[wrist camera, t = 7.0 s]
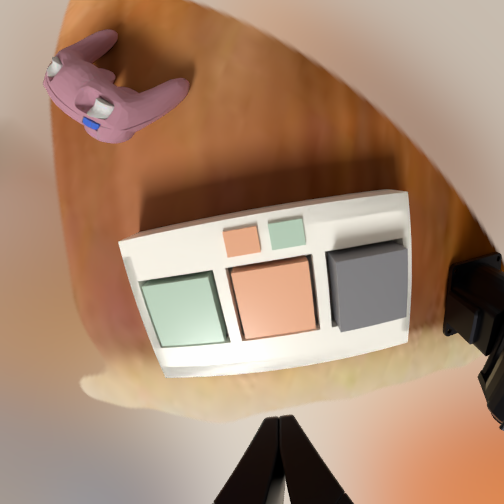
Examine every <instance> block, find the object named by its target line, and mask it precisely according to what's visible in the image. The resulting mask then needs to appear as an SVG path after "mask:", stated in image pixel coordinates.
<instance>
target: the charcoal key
mask: <svg viewBox="0 0 504 504" xmlns="http://www.w3.org/2000/svg"><path fill="white" fill-rule="evenodd" d="M327 253H328V262H329V272H330V283H331V294H332V307H333V316H334V319H335V321H336V323H337V325H338V328H339V330H340V332H346V331H350V330H355V329H360V328H364V327H368V326H373V325H377V324H381V323H385V322H389V321H393V320H397V319H401V318H404V317H406V315H407V295H408V249H407V248H405V247H403V246H402V245H400V244H398V243H396V242H394V241H393V240H391V241H385V242H380V243H374V244H369V245H363V246H357V247H351V248H346V249H340V250H334V251H328V252H327Z"/></svg>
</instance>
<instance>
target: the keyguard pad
mask: <svg viewBox="0 0 504 504" xmlns="http://www.w3.org/2000/svg"><path fill="white" fill-rule="evenodd" d="M391 240H393V241H394V242H396V243H398V244H400V245H402V246H403V247H405V248H407V249H408V295H407V315H406V317H404V318H401V319H397V320H393V321H389V322H385V323H381V324H377V325H373V326H368V327H364V328H360V329H355V330H350V331H346V332H340V330H339V328H338V325H337V323H336V321H335V319H334V316H333V307H332V294H331V283H330V272H329V262H328V253H327V252H328V251H334V250H340V249H346V248H351V247H357V246H363V245H369V244H374V243H380V242H385V241H391ZM118 243H119V246H120V250H121V254H122V258H123V261H124V265H125V268H126V272H127V275H128V278H129V281H130V285H131V288H132V291H133V294H134V297H135V300H136V303H137V306H138V309H139V312H140V315H141V318H142V320H143V323H144V326H145V328H146V331H147V334H148V336H149V339H150V342H151V344H152V347H153V349H154V352H155V354H156V356H157V359H158V361H159V364H160V366H161V368H162V371H163V373H164V375H165V377H166V378H184V377H208V376H223V375H235V374H246V373H256V372H264V371H272V370H280V369H287V368H294V367H300V366H306V365H312V364H318V363H323V362H328V361H333V360H338V359H343V358H348V357H352V356H357V355H361V354H365V353H369V352H373V351H377V350H381V349H385V348H389V347H392V346H396V345H400V344H403V343H407V341H408V332H409V320H410V305H411V279H412V252H411V226H410V211H409V200H408V192H405V191H398V190H391V189H383V190H375V191H367V192H359V193H352V194H345V195H338V196H331V197H324V198H317V199H310V200H304V201H298V202H291V203H285V204H279V205H273V206H267V207H262V208H256V209H250V210H245V211H239V212H234V213H228V214H223V215H218V216H213V217H208V218H203V219H198V220H193V221H188V222H183V223H178V224H173V225H169V226H164V227H159V228H155V229H150V230H146V231H141V232H138V233H136V234H134V235H131V236H129V237H127V238H125V239H123V240H121V241H119V242H118ZM301 255H305V256H306V258H307V260H308V264H309V271H310V279H311V288H312V297H313V306H314V315H315V325H316V328H315V329H309V330H303V331H297V332H291V333H284V334H278V335H271V336H264V337H256V338H248V339H246V338H245V334H244V329H243V325H242V321H241V316H240V312H239V308H238V303H237V299H236V294H235V290H234V285H233V281H232V276H231V272H232V269H233V267H234V266H241V265H247V264H253V263H259V262H265V261H271V260H277V259H283V258H289V257H295V256H301ZM209 270H213V273H214V277H215V281H216V286H217V290H218V294H219V298H220V302H221V306H222V310H223V314H224V318H225V322H226V326H227V329H228V330H227V334H226V338H225V341H223V342H213V343H201V344H189V345H174V346H162V344H161V341H160V338H159V336H158V333H157V330H156V328H155V325H154V322H153V319H152V316H151V313H150V310H149V307H148V304H147V301H146V298H145V295H144V292H143V289H142V286H143V285H144V284H146V283H147V282H148V281H149V280H151V279H157V278H164V277H171V276H177V275H184V274H190V273H196V272H203V271H209Z"/></svg>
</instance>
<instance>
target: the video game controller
mask: <svg viewBox="0 0 504 504" xmlns="http://www.w3.org/2000/svg"><path fill="white" fill-rule="evenodd" d="M117 38H118V34H117V32H116V31H114V30H110V29H108V30H102V31H99V32H96V33H94V34H92V35H90V36H88V37H86V38H84V39H83V40H81V41H79V42H77V43H75V44H73V45H71V46H69V47H66V48H64V49H62V50H61V51H59V52H58V53H57V54H56V56H55V57H52V62H51V63H50V65H49V66H48V68H47V71H46V74H45V78H44V81H43V85H44V87H45V88H46V90H47V92H48V94H49V96H50V97H51V99H52V100H53V102H54V103H55V104H56V105H57V106H58V107H59V108H60V109H61V110H62V111H63V112H65V113H66V114H67V115H69V116H70V117H71V118H73V119H74V120H76V121H78V122H79V123H81V124H83V125H84V128H85V130H86V131H87V133H88V134H89V135H91V136H92V137H93V138H95V139H97V140H99V141H103V142H107V143H121V142H125V141H127V140H129V139H130V138H132V136H133V135H134V133H135V132H136V131H138V130H141V129H142V128H144V127H146V126H147V125H149V124H151V123H152V122H154V121H156V120H158V119H159V118H161V117H162V116H164V115H165V114H167V113H168V112H169V111H171V110H172V109H173V108H175V107H176V106H177V105H178V104H179V103H180V102H181V101H182V100H183V99H184V98H185V97H186V95H187V94H188V90H189V82H188V81H187V80H186V79H185V78H177V79H171V80H169V81H166V82H164V83H162V84H160V85H158V86H156V87H153V88H151V89H149V90H146V91H144V92H141V93H138V92H136V91H135V90H132V89H130V88H127V87H117V86H116V85H114V84H113V82H114V80H115V75H114V74H113V73H112V72H111V71H109V70H106V69H103V68H97V67H96V66H95V65H93V64H92V63H93V62H94V61H96V60H97V59H99V58H100V57H101V56H103V55H104V54H105V53H106V52H107V51H108V50H110V49H111V48H112V46H113V45H114V44H115V42H116V41H117Z"/></svg>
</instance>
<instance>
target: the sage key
mask: <svg viewBox="0 0 504 504" xmlns="http://www.w3.org/2000/svg"><path fill="white" fill-rule="evenodd" d="M142 289H143V292H144V295H145V298H146V301H147V304H148V307H149V310H150V313H151V316H152V319H153V322H154V325H155V328H156V330H157V333H158V336H159V338H160V341H161V344H162V346H174V345H189V344H201V343H213V342H223V341H225V338H226V334H227V330H228V329H227V326H226V322H225V318H224V314H223V310H222V306H221V302H220V298H219V294H218V290H217V286H216V281H215V277H214V273H213V270H209V271H203V272H196V273H190V274H184V275H177V276H171V277H164V278H157V279H151V280H149V281H148V282H147V283H146V284H144V285H143V286H142Z"/></svg>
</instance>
